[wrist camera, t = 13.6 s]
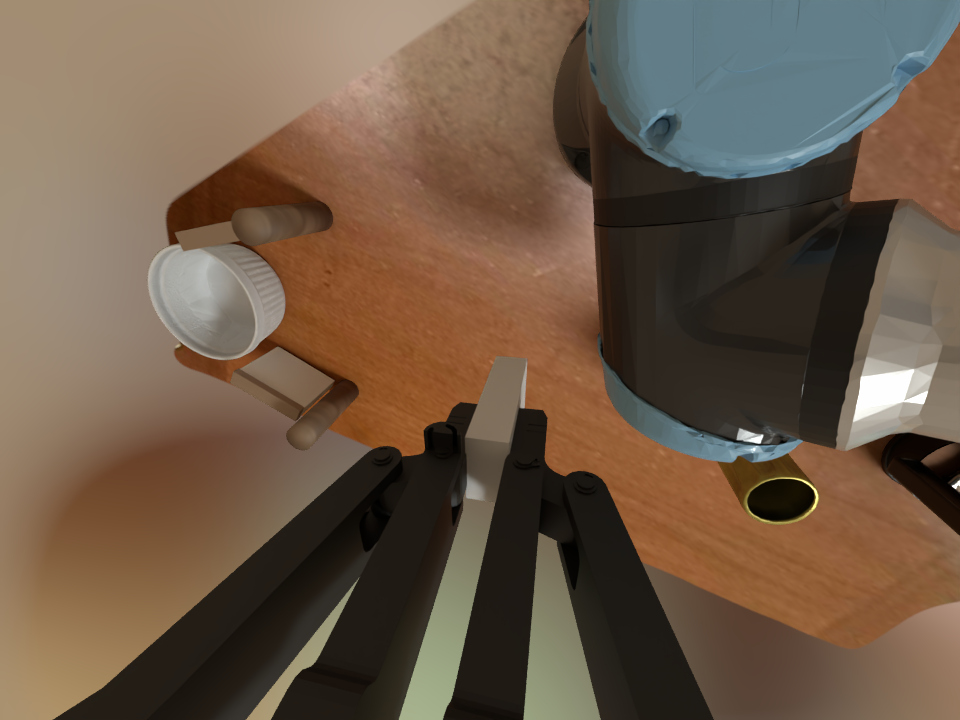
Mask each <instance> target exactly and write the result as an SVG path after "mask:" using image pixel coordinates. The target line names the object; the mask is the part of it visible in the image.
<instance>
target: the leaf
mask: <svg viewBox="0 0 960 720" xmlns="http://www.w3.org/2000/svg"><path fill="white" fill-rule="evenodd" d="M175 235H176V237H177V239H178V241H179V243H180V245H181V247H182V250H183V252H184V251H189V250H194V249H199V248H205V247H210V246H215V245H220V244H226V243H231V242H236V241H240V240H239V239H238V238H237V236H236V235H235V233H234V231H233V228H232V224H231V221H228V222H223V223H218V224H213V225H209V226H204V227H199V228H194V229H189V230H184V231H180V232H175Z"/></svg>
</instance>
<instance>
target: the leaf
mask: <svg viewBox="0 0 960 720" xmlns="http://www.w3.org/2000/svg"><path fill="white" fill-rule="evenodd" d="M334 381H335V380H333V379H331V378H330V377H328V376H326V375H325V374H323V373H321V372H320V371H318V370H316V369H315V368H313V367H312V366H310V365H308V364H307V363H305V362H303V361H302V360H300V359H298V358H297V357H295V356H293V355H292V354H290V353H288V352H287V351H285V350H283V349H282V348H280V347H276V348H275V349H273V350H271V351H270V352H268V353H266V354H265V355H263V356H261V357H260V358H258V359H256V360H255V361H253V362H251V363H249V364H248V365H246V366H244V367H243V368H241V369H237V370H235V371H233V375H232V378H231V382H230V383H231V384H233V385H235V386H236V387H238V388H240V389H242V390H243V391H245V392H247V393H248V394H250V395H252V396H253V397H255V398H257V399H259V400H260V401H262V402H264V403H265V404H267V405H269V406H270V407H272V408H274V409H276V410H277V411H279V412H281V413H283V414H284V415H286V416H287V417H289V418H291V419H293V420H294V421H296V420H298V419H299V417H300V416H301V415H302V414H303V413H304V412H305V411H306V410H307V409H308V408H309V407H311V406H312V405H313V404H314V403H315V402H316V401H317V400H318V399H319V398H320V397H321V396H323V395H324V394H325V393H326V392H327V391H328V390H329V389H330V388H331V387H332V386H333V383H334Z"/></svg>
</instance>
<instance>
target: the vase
mask: <svg viewBox="0 0 960 720" xmlns="http://www.w3.org/2000/svg"><path fill="white" fill-rule="evenodd" d="M717 462H718V464H719V466H720V468H721V469H722V471H723V473H724V475H725V477H726V478H727V480H728V482H729V484H730V485H731V487H732V489H733V491H734V493H735V494H736V496H737V498H738V500H739V502H740V504H741V506H742V507H743V509H744V510H745V512H746V513H747V514H748V515H749V516H751V517H752V518H754V519H755V520H757V521H759V522H763V523H766V524H772V525H783V524H790V523H793V522H797V521H799V520H802V519H804V518H805V517H807V516H808V515H809V514H810V513H811V512H812V511H813V510H814V509H815V508H816V506H817V504H818V501H819V494H818V491H817V489H816V487H815V486H814V484H813V483H812V482H811V481H810V480H809V478H808V477H807V476H806V475H805V474H804V473H803V471H802V470H801V469H800V468H799V467H798V465H797V464H796V463H795V462H794V461H793V459H792V458H791V457H790V456H789V454H788V453H787V454H785V455H783V456H781V457H778V458H775V459H772V460H768V461H761V462H750V461H748V460H746V459H745V458H743V457H742V456H737V458H736V460H735V461H733V462H732V463H731V462H719V461H717Z"/></svg>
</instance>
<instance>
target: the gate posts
mask: <svg viewBox="0 0 960 720" xmlns="http://www.w3.org/2000/svg"><path fill="white" fill-rule="evenodd" d="M332 222H333V216H332V212H331V210H330V209H329V207H328V206H327V205H326V204H324V203H322V202H307V203H296V204H285V205H275V206H264V207H253V208H243V209H238V210H236V211H235V212H234V214H233V215H232V219H231V224H232V228H233V231H234V233H235V235H236V236H237V238H238V239H239V240H240V241H241V242H243V243H244V244H246V245H249V246H256V245H261V244H265V243H270V242H274V241H279V240H283V239H288V238H292V237H297V236H301V235H306V234H311V233H315V232H320V231H324V230H327V229H329V228H330V227H331V225H332ZM358 394H359V391H358V388H357V386H356V385H355V384H354V383H353V382H351V381H349V380H342V381H341V382H339V383H338V384H337V385H336V386H335V387H334V388H333V389H332V390H331V391H330V392H329V393H328V394H326V395H325V396H324V397H323V398H322V399H321V400H320V401H319V402H318V403H317V404H316V405H315V406H314V407H313V408H311V409H310V410H309V411H308V412H307V413H306V414H305V415H304V416H303V417H302V418H301V419H300V420H299V421H298V422H296V423H295V424H294V425H293V426H292V427H291V428H290V429H289V430H288V431H287V433H286V437H287V440H288V442H289V443H290V444H291V445H292V446H293V447H295V448H296V449H299V450H308V449H309V448H310V447H311V446H312V445H313V444H314V443H315V442H316V441H317V440H318V438H319V437H320V436H321V435H322V434H323V433H324V432H325V431H326V430H327V429H328V428H329V427H330V426H331V424H332V423H333V422H334V421H335V420H336V419H337V418H338V417H339V416H340V415H341V414H342V413H343V411H344V410H345V409H346V408H347V407H348V406H349V405H350V404H351V403H352V402H353V401H354V400H355V398H356V397H357V396H358Z"/></svg>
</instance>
